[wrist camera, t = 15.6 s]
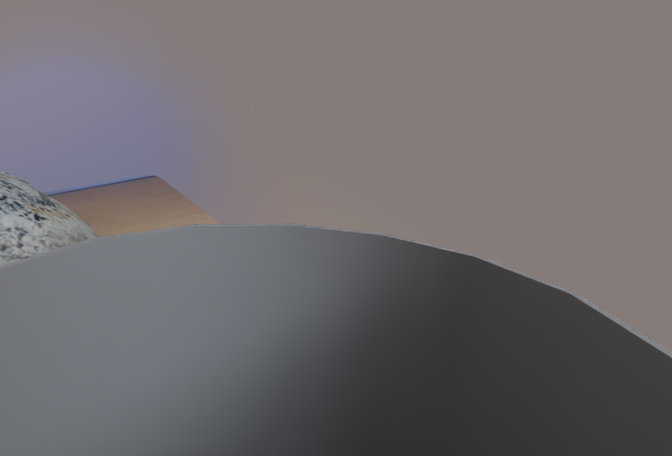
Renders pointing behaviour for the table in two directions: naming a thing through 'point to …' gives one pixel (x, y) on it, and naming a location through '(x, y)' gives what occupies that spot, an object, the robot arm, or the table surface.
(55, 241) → the bread
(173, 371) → the cup
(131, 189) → the table surface
